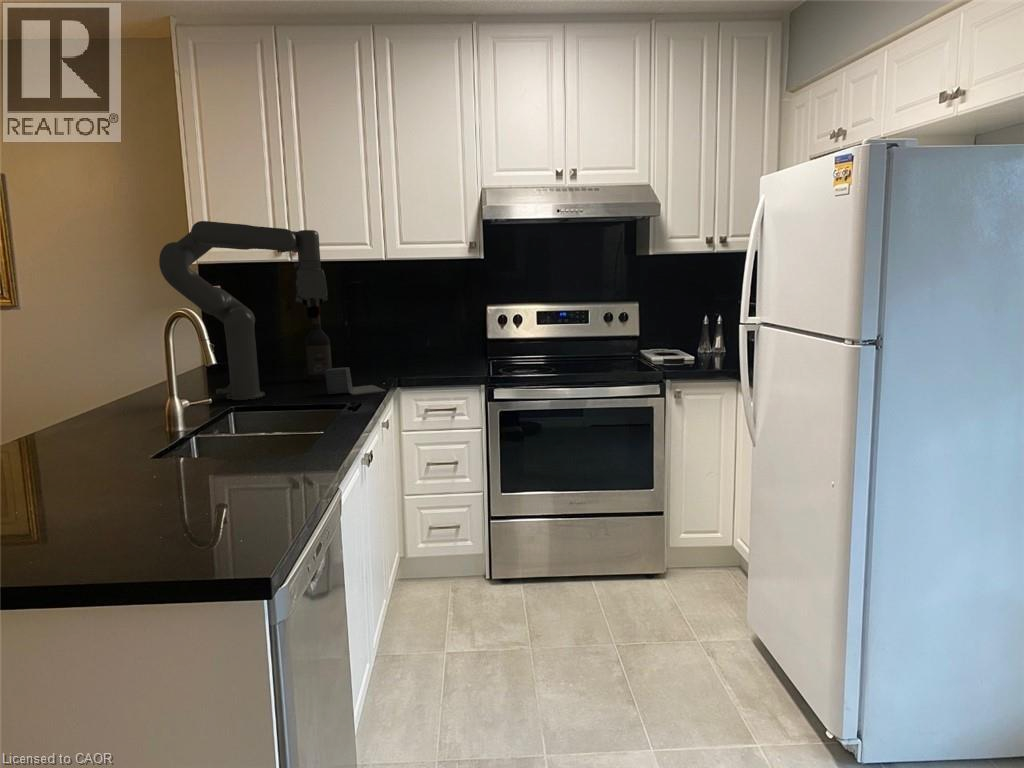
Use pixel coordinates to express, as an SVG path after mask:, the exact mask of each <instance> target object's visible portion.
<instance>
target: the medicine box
mask: <svg viewBox="0 0 1024 768" xmlns="http://www.w3.org/2000/svg"><path fill="white" fill-rule="evenodd" d="M351 375H352V374H351V369H350V367H335V368H333V367H332V369H328V370H326V371H325V376H326V381H325V383H326V389H327V394H328V395H334V394H335V395H337V394H349V392H351V391H352V390H353V388H352V387H353V382H352V376H351Z"/></svg>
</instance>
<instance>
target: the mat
mask: <svg viewBox="0 0 1024 768" xmlns="http://www.w3.org/2000/svg"><path fill="white" fill-rule="evenodd" d="M352 388H353V390H352V391H351V392H349V393H348V394H349V395H351V396H360V395H369V394H370V395H371V394H377V393H378V394H379V393H385V392H386V393H387V390H386V389H384V388H381V387H380V386H379V387H378V386H376V385H374V384H369V385H361V386H360V385H359V386H352Z"/></svg>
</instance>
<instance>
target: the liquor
mask: <svg viewBox="0 0 1024 768" xmlns="http://www.w3.org/2000/svg"><path fill="white" fill-rule="evenodd" d="M313 305H314V304H313ZM313 305H312V304H311V307H312V308H313V307H314V306H313ZM320 305H321V304H320ZM320 305H319V307H318V311H319V316H318V318H311V325H312V326H311V330H310V332H309V333H308V334H307V336H306V337H305V341H304V342H305V344H304V345H305V356H306V358H305V359H306V370H307V373H306V374H307V378H308V381H309V382H312V383H313V382H314V383H316V382H326V376H325V371H326V370H328V369H332V368H333V365H332V354H331V353H332V351H331V339H330V337H329V336H328V335H327V333H326V332H324V331H323V329H322V325H321V315H320V314H321V306H320Z"/></svg>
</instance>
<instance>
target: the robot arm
mask: <svg viewBox="0 0 1024 768" xmlns="http://www.w3.org/2000/svg"><path fill="white" fill-rule="evenodd" d="M212 248H218V249H231V250H242V251H243V250H247V251H248V250H269V251H280V252H284V253H289V252H294V251H295V252H297V260H298V261H297V262H294V267H295V268H298V270H296V279H295V293H296V297H295V302H297V303H302V304H303V305H304V306H305V307H306V311H307V313H306V314H307V317H308V319H312V318H318V316H319V311H318V307H319V305H321V304H322V303H324V302H325V301H329V297H328V287H327V280H326V275H325V270H324V269H322V266H321V265H322V264H321V251H320V235H319V233H318V231H317V230H314V229H304V230H303V229H302V230H298V231H295V230H291V229H287V228H281V227H280V228H279V227H272V226H271V227H269V226H259V225H257V226H256V225H249V224H244V223H243V224H242V223H230V222H229V223H228V222H218V221H207V220H201V221H197V222H195V223H194V224H193V225H192V227H191V230H190V231H189V232H188V233H187V234H186V235H185V236H184V237H182V238H181V239H179V240H178V241H174V242H173V241H172V242H169V243H167V244H165V245H164V246H163V247H162V249H161V250H160V254H159V259H158V264H159V269H160V273H161V274H162V276H163V278H164V280H165V282H167V284H169V285H170V286H171V287H172V288H174V290H176V291H177V292H178V293H180V294H181V295H182V296H184V297H185V298H186V299H188V300H189V302H191V303H193V304H194V305H195V306H197V307H198V308H199V309H200V310H201V311H202V312H204V313H205V314H208V315H211V316H213V317H215V318H216V319H217V320H219V321H220V322H221V323H222V324H223V327H224V328H223V329H224V334H225V341H226V343H225V344H226V354H227V362H228V363H227V364H228V374H229V375H228V376H229V384H228V386H225V387H224V388H217V389H216V391H215V392H216V395H226V399H227V400H229V399H232V400H231V401H249V400H248V399H250V400H257V399H261V398H263V396H264V397H265V396H266V393H265V392H264V391H261V389H260V379H259V366H258V365H259V364H258V351H257V344H256V343H257V342H256V335H255V334H256V332H255V323H256V317H255V315H254V313H253V310H251V309H250V308H248V307H247V306H246V305H244V304H243V303H242V302H241V301H239V300H238V299H237V298H235V297H234V296H232V295H231V294H230V293H229V292H227V291H226V290H225V289H222V288H221V287H217V286H213V284H211V283H210V282H208V281H206V280H205V279H204V278H203V277H202V276H200V275H199V274H197V273H196V271H193V270H192V269H191V267H190V266H191V265H192V264H193V263H195V262H196V261H197V260H199V259H200V258H201V257H203V256H204V255H205V254H207V253H208V252H209V251H211V250H212ZM311 299H313V306H314V307H313V308H312V307H311V306H312V303H311ZM260 397H261V398H260ZM256 398H257V399H256Z"/></svg>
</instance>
